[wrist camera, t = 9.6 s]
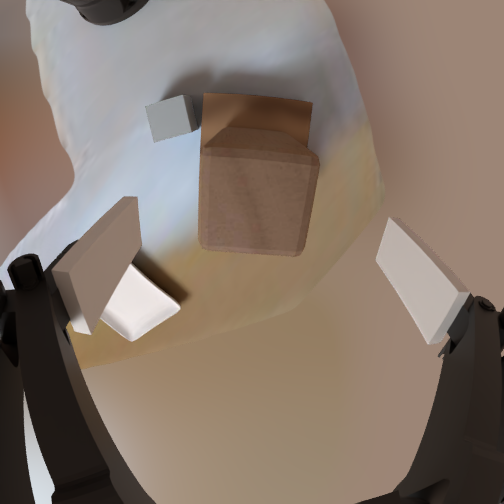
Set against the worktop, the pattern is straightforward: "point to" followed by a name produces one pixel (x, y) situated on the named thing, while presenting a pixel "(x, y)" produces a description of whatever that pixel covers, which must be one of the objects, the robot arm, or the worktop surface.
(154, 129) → the slate cube
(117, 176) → the worktop surface
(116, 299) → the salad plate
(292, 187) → the block
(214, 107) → the plinth
